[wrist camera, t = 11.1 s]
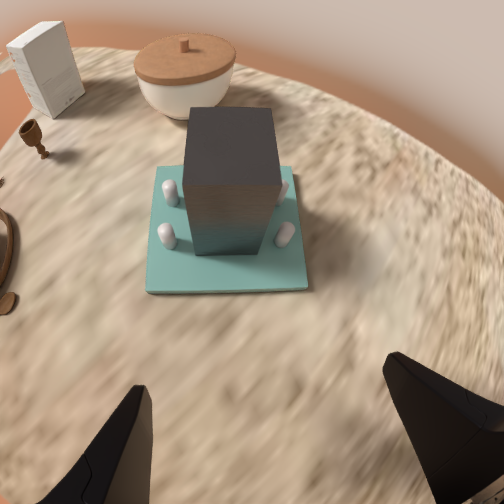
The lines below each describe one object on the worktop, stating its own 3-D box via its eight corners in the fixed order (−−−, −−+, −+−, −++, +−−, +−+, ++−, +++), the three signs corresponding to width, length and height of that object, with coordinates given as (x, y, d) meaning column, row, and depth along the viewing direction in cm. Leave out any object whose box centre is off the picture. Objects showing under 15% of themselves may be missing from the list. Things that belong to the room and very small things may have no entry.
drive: (257, 254, 23) (282, 185, 14) (195, 255, 23) (181, 185, 13) (252, 191, 26) (270, 107, 16) (197, 191, 25) (190, 106, 16)
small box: (86, 92, 30) (64, 19, 18) (53, 120, 28) (20, 48, 16) (62, 82, 31) (41, 20, 19) (32, 107, 29) (4, 46, 17)
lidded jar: (170, 75, 33) (166, 19, 24) (243, 90, 32) (251, 29, 24) (127, 124, 29) (110, 60, 20) (209, 143, 28) (210, 71, 20)
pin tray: (304, 289, 24) (318, 278, 21) (148, 293, 22) (137, 282, 19) (288, 172, 28) (296, 150, 25) (158, 172, 26) (152, 149, 23)
